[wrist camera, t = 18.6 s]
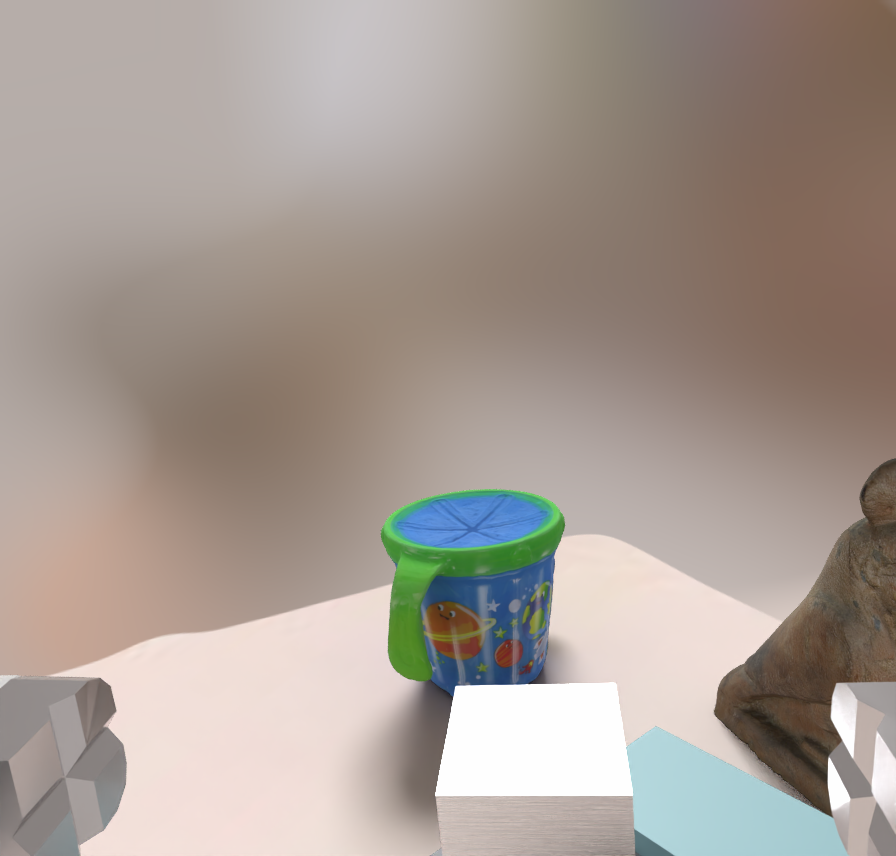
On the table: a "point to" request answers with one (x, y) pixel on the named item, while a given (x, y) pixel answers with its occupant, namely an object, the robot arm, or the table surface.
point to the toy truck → (715, 807)
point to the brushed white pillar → (535, 773)
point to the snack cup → (472, 587)
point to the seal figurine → (822, 650)
